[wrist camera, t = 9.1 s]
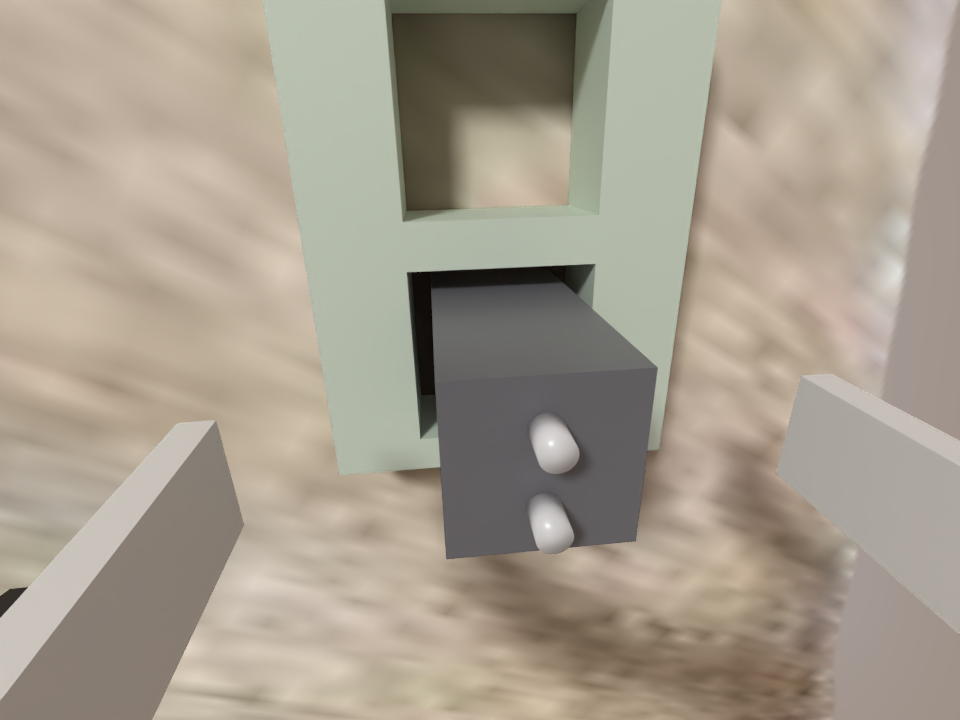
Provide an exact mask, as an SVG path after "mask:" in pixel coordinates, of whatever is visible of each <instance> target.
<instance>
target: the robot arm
mask: <svg viewBox="0 0 960 720" xmlns="http://www.w3.org/2000/svg"><path fill="white" fill-rule="evenodd" d="M776 474H777V475H778V476H779V477H781V478H782V479H783V480H784V481H785V482H786V483H787V484H788V485H790V486H791V487H792V488H793V489H794V490H795V491H796V492H798V493H799V494H800V495H801V496H802V497H803V498H804V499H806V500H807V501H808V502H809V503H810V504H811V505H812V506H814V507H815V508H816V509H817V510H818V511H819V512H820V513H821V514H823V515H824V516H825V517H826V518H827V519H828V520H829V521H831V522H832V523H833V524H834V525H835V526H836V527H837V528H839V529H840V530H841V531H842V532H843V533H844V534H845V535H846V536H848V537H849V538H850V539H851V540H852V541H853V542H854V543H856V544H857V545H858V546H859V547H860V548H861V549H862V550H864V551H865V552H866V553H867V554H868V555H869V556H870V557H872V558H873V559H874V560H875V561H876V562H877V563H879V565H881V566H882V567H883V568H884V569H885V570H887V572H889V573H890V574H891V575H892V576H893V577H894V578H895V579H897V580H898V581H899V582H900V583H901V584H902V585H903V586H905V587H906V588H907V589H908V590H909V591H910V592H911V593H912V594H914V595H915V596H916V597H917V598H918V599H919V600H920V601H922V602H923V603H924V604H925V605H926V606H927V607H928V608H930V609H931V610H932V611H933V612H934V613H935V614H936V615H938V616H939V617H940V618H941V619H942V620H943V621H944V622H946V623H947V624H948V625H949V626H950V627H951V628H952V629H953V630H955V631H956V632H957V633H958V634H959V635H960V441H959V440H957V439H955V438H953V437H951V436H949V435H948V434H946V433H944V432H942V431H940V430H938V429H936V428H934V427H932V426H930V425H928V424H926V423H925V422H923V421H921V420H919V419H917V418H915V417H913V416H911V415H909V414H907V413H905V412H904V411H902V410H900V409H898V408H896V407H894V406H892V405H890V404H888V403H886V402H884V401H882V400H881V399H879V398H877V397H875V396H873V395H871V394H869V393H867V392H865V391H863V390H861V389H859V388H857V387H856V386H854V385H852V384H850V383H848V382H846V381H844V380H842V379H840V378H838V377H836V376H834V375H833V374H820V375H807V376H801V378H800V382H799V386H798V390H797V393H796V397H795V401H794V405H793V409H792V413H791V417H790V421H789V425H788V429H787V433H786V436H785V440H784V444H783V448H782V452H781V456H780V460H779V464H778V468H777V472H776ZM243 526H244V523H243V519H242V515H241V512H240V508H239V504H238V500H237V497H236V493H235V489H234V485H233V482H232V478H231V474H230V470H229V467H228V463H227V459H226V456H225V452H224V448H223V444H222V441H221V437H220V433H219V429H218V426H217V422H216V420H212V421H199V422H186V423H177V424H176V425H175V426H174V427H173V428H172V429H171V431H170V432H169V433H168V434H167V435H166V436H165V437H164V438H163V439H162V440H161V442H160V443H159V444H158V445H157V446H156V447H155V448H154V449H153V450H152V451H151V453H150V454H149V455H148V456H147V457H146V458H145V459H144V460H143V461H142V462H141V464H140V465H139V466H138V467H137V468H136V469H135V470H134V471H133V472H132V473H131V475H130V476H129V477H128V478H127V479H126V480H125V481H124V482H123V483H122V485H121V486H120V487H119V488H118V489H117V490H116V491H115V492H114V493H113V494H112V496H111V497H110V498H109V499H108V500H107V501H106V502H105V503H104V504H103V505H102V507H101V508H100V509H99V510H98V511H97V512H96V513H95V514H94V515H93V516H92V518H91V519H90V520H89V521H88V522H87V523H86V524H85V525H84V526H83V527H82V529H81V530H80V531H79V532H78V533H77V534H76V535H75V536H74V537H73V539H72V540H71V541H70V542H69V543H68V544H67V545H66V546H65V547H64V548H63V550H62V551H61V552H60V553H59V554H58V555H57V556H56V557H55V558H54V559H53V561H52V562H51V563H50V564H49V565H48V566H47V567H46V568H45V569H44V570H43V572H42V573H41V574H40V575H39V576H38V577H37V578H36V579H35V580H34V581H33V583H32V584H31V585H30V586H29V587H26V588H16V589H10V590H8V591H7V592H5V593H4V594H3V595H1V596H0V720H152V719H153V717H154V714H155V712H156V710H157V708H158V706H159V704H160V702H161V700H162V698H163V695H164V693H165V691H166V689H167V687H168V685H169V683H170V681H171V678H172V676H173V674H174V672H175V670H176V668H177V666H178V664H179V662H180V659H181V657H182V655H183V653H184V651H185V649H186V647H187V645H188V643H189V640H190V638H191V636H192V634H193V632H194V630H195V628H196V626H197V624H198V621H199V619H200V617H201V615H202V613H203V611H204V609H205V607H206V604H207V602H208V600H209V598H210V596H211V594H212V592H213V590H214V588H215V585H216V583H217V581H218V579H219V577H220V575H221V573H222V571H223V569H224V566H225V564H226V562H227V560H228V558H229V556H230V554H231V552H232V550H233V547H234V545H235V543H236V541H237V539H238V537H239V535H240V533H241V530H242V528H243Z"/></svg>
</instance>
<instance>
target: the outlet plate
mask: <svg viewBox="0 0 960 720" xmlns="http://www.w3.org/2000/svg"><path fill="white" fill-rule="evenodd" d="M262 1H263V7H264V13H265V19H266V25H267V32H268V38H269V44H270V50H271V56H272V62H273V69H274V75H275V81H276V87H277V93H278V100H279V106H280V112H281V118H282V124H283V130H284V137H285V143H286V149H287V155H288V161H289V167H290V174H291V180H292V186H293V192H294V198H295V204H296V211H297V217H298V223H299V229H300V235H301V241H302V248H303V254H304V260H305V266H306V272H307V279H308V285H309V291H310V297H311V303H312V309H313V316H314V322H315V328H316V334H317V340H318V346H319V353H320V359H321V365H322V371H323V377H324V383H325V390H326V396H327V402H328V408H329V414H330V421H331V427H332V433H333V439H334V445H335V451H336V458H337V464H338V470H339V475H349V474H361V473H374V472H386V471H399V470H411V469H424V468H436V467H440V454H439V439H438V424H437V408H436V394H435V395H421V386H420V374H419V361H418V348H417V335H416V322H415V310H414V297H413V284H412V272H425V271H447V270H469V269H491V268H514V267H536V266H558V265H566V267H565V285H566V286H567V287H569V288H570V289H571V290H572V291H573V292H574V293H575V294H576V295H577V296H579V297H580V298H581V299H582V300H583V301H584V302H585V303H586V304H588V305H589V306H590V307H591V308H592V309H593V310H594V311H595V312H596V313H598V314H599V315H600V316H601V317H602V318H603V319H604V320H605V321H607V322H608V323H609V324H610V325H611V326H612V327H613V328H614V329H615V330H617V331H618V332H619V333H620V334H621V335H622V336H623V337H624V338H625V339H627V340H628V341H629V342H630V343H631V344H632V345H633V346H634V347H636V348H637V349H638V350H639V351H640V352H641V353H642V354H643V355H644V356H646V357H647V358H648V359H649V360H650V361H651V362H652V363H653V364H654V365H656V366H657V367H658V371H657V378H656V386H655V394H654V402H653V410H652V418H651V425H650V433H649V441H648V449H647V451H649V450H659V446H660V439H661V432H662V425H663V418H664V410H665V403H666V396H667V389H668V382H669V375H670V367H671V360H672V353H673V346H674V339H675V331H676V324H677V317H678V310H679V303H680V295H681V288H682V281H683V274H684V267H685V259H686V252H687V245H688V238H689V231H690V223H691V216H692V209H693V202H694V195H695V188H696V180H697V173H698V166H699V159H700V152H701V144H702V137H703V130H704V123H705V116H706V108H707V101H708V94H709V87H710V80H711V72H712V65H713V58H714V51H715V44H716V36H717V29H718V22H719V15H720V8H721V1H722V0H262ZM391 13H577V20H576V42H575V65H574V87H573V109H572V132H571V154H570V177H569V199H568V205H563V206H533V207H504V208H475V209H446V210H417V211H407V207H406V194H405V182H404V169H403V156H402V143H401V130H400V118H399V105H398V92H397V79H396V66H395V54H394V41H393V28H392V15H391Z"/></svg>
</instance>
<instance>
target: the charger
mask: <svg viewBox="0 0 960 720" xmlns="http://www.w3.org/2000/svg"><path fill="white" fill-rule="evenodd" d="M431 298H432V324H433V349H434V375H435V393H436V408H437V424H438V439H439V454H440V469H441V485H442V500H443V515H444V531H445V546H446V559H454V558H465V557H475V556H486V555H496V554H507V553H517V552H527V551H538V550H541V551H542V552H544V553H547V554H557V553H561V552H563V551H565V550H566V549H568V548H569V547H580V546H590V545H601V544H611V543H621V542H632V541H636V535H637V527H638V519H639V511H640V504H641V496H642V488H643V480H644V472H645V464H646V457H647V449H648V441H649V433H650V425H651V418H652V410H653V402H654V394H655V386H656V378H657V371H658V367H657V366H656V365H654V364H653V363H652V362H651V361H650V360H649V359H648V358H647V357H646V356H644V355H643V354H642V353H641V352H640V351H639V350H638V349H637V348H636V347H634V346H633V345H632V344H631V343H630V342H629V341H628V340H627V339H625V338H624V337H623V336H622V335H621V334H620V333H619V332H618V331H617V330H615V329H614V328H613V327H612V326H611V325H610V324H609V323H608V322H607V321H605V320H604V319H603V318H602V317H601V316H600V315H599V314H598V313H596V312H595V311H594V310H593V309H592V308H591V307H590V306H589V305H588V304H586V303H585V302H584V301H583V300H582V299H581V298H580V297H579V296H577V295H576V294H575V293H574V292H573V291H572V290H571V289H570V288H569V287H567V286H566V285H565V284H564V283H563V282H562V281H561V280H560V279H559V278H557V277H556V276H555V275H554V274H553V273H552V272H551V271H550V270H548V269H547V268H546V267H535V268H513V269H491V270H469V271H447V272H431Z"/></svg>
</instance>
